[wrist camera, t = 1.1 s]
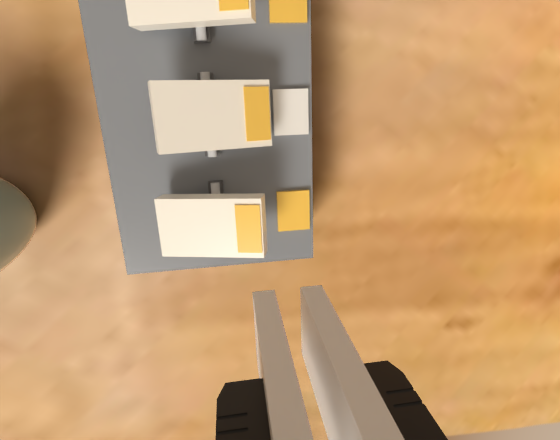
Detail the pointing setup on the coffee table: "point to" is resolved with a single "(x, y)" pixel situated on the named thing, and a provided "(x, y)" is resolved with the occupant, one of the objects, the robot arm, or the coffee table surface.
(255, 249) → the rocker
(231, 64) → the console
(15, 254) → the cup
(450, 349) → the coffee table surface
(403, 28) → the coffee table surface
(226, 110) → the rocker
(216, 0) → the block
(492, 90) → the coffee table surface
